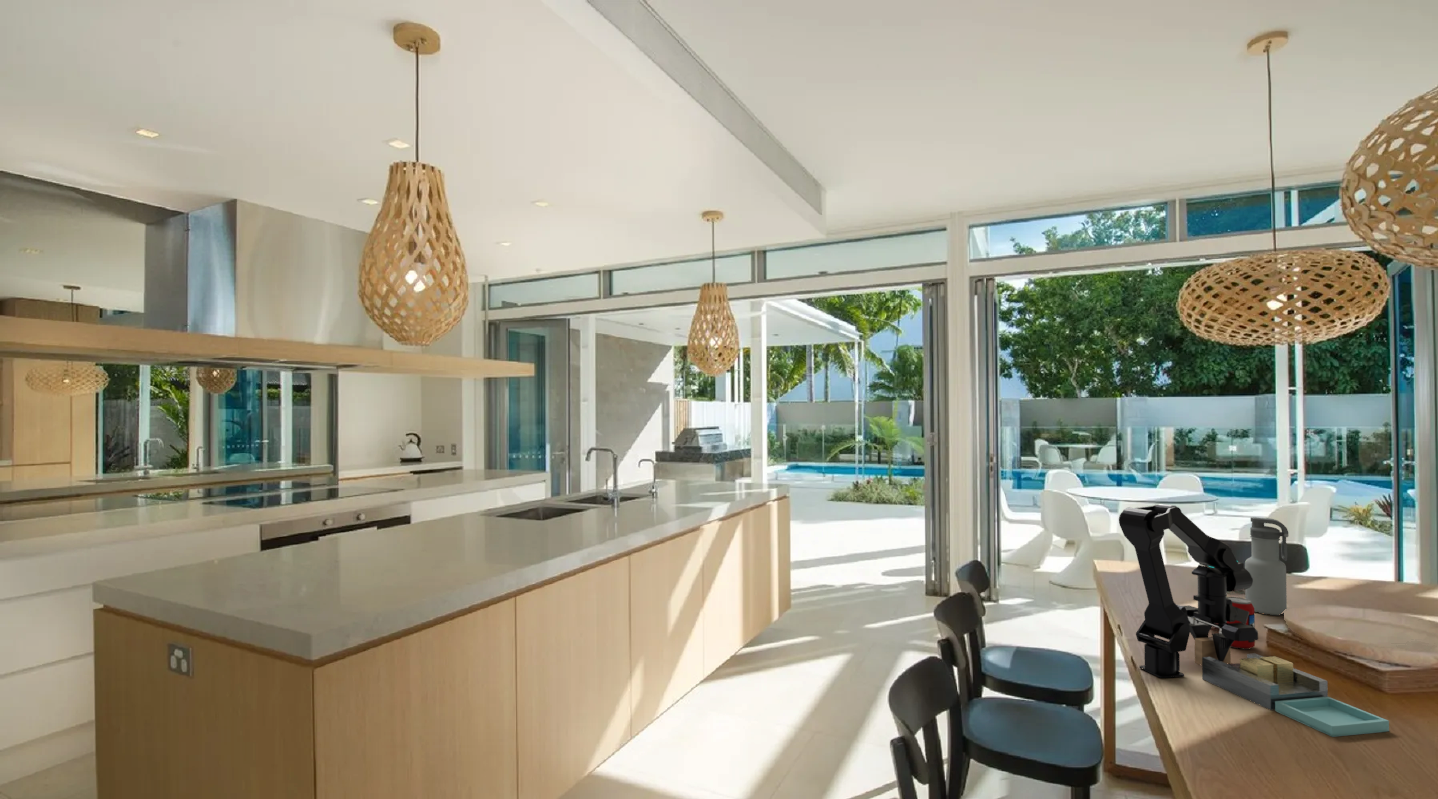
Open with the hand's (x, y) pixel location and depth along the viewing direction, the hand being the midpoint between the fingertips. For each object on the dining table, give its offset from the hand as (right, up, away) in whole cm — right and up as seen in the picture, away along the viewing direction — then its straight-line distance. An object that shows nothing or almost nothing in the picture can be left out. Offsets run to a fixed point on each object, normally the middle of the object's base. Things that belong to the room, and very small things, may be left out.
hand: (1212, 658), depth 164 cm
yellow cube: (+1, +2, -17) cm, 17 cm away
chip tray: (+1, -1, -30) cm, 30 cm away
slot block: (-1, -1, -16) cm, 17 cm away
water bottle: (+47, -2, +42) cm, 62 cm away
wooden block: (0, -1, 0) cm, 1 cm away
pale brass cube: (-4, +2, -18) cm, 18 cm away
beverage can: (+15, -2, +12) cm, 19 cm away
